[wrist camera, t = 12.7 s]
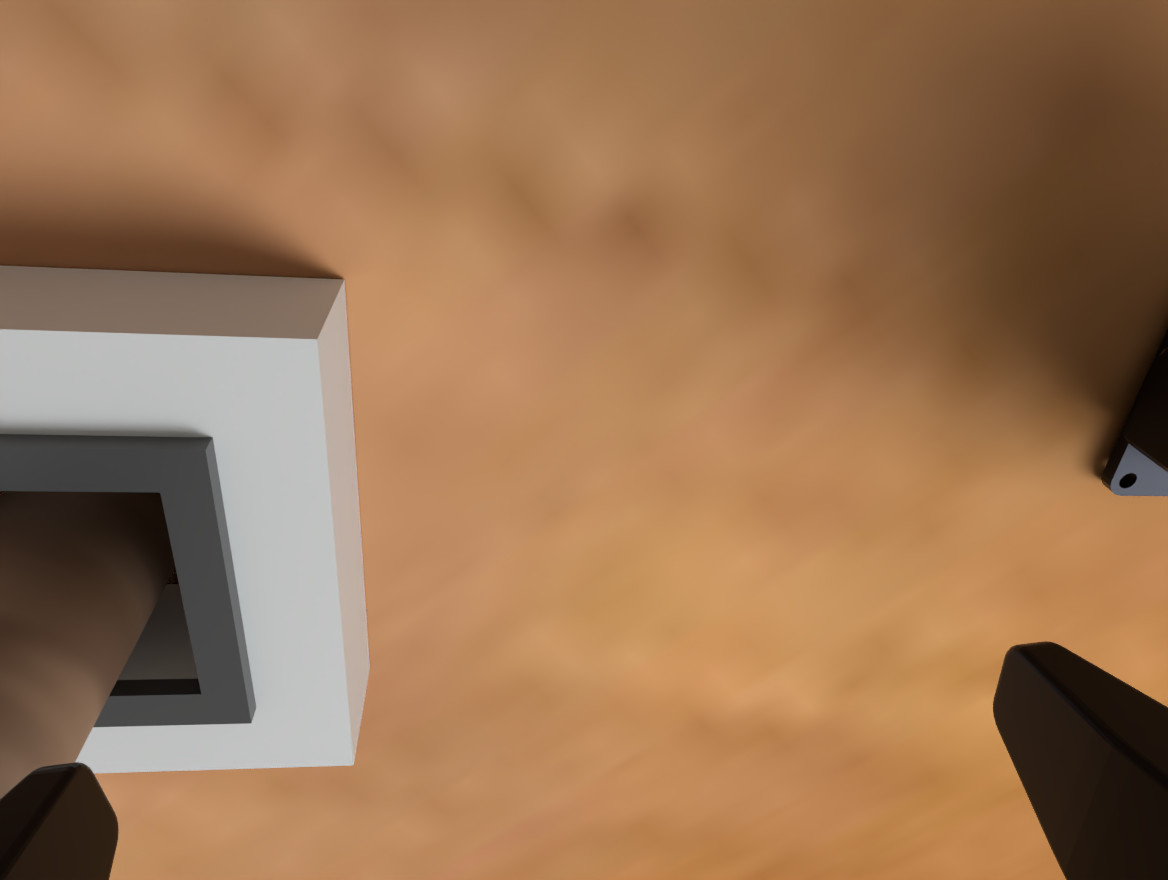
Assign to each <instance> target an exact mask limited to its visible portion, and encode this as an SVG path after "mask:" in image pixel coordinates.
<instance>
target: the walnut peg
mask: <svg viewBox="0 0 1168 880" xmlns="http://www.w3.org/2000/svg"><path fill="white" fill-rule="evenodd" d="M174 569H175V562H174V558H173V553H172V548H171V543H170V538H169V533H168V528H167V523H166V518H165V514H164V509H163V504H162V499H161V494H160V493H157V492H47V491H4V492H3V494H2V495H1V496H0V799H1V798H2V797H3V796H4V795H5V794H6V793H8V792H9V791H10V790H11V789H12V788H13V787H14V786H15V785H17V784H18V783H19V782H20V781H21V780H22V779H23V778H25V777H26V776H27V775H28V774H30V773H31V772H32V771H34V770H36V769H38V768H41V767H44V766H51V765H59V764H67V763H75V761H76V759H77V757H78V755H79V753H80V752H81V750H82V748H83V746H84V744H85V742H86V740H87V738H88V736H89V734H90V732H91V730H92V728H93V726H94V724H95V722H96V720H97V719H98V717H99V715H100V713H101V711H102V709H103V707H104V705H105V703H106V701H107V699H108V697H109V695H110V693H111V691H112V689H113V688H114V686H115V684H116V682H117V680H118V678H119V676H120V674H121V672H122V670H123V668H124V666H125V664H126V662H127V660H128V658H129V657H130V655H131V653H132V651H133V649H134V647H135V645H136V643H137V641H138V639H139V637H140V635H141V633H142V631H143V629H144V627H145V625H146V624H147V622H148V620H149V618H150V616H151V614H152V612H153V610H154V608H155V606H156V604H157V602H158V600H159V598H160V596H161V594H162V593H163V591H164V589H165V587H166V585H167V583H168V581H169V579H170V577H171V575H172V573H173V571H174Z"/></svg>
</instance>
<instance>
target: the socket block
mask: <svg viewBox="0 0 1168 880" xmlns="http://www.w3.org/2000/svg"><path fill="white" fill-rule="evenodd" d="M0 491H47V492H157V493H160V494H161V499H162V504H163V509H164V514H165V518H166V523H167V528H168V533H169V538H170V543H171V548H172V553H173V558H174V562H175V567H176V572H177V577H178V582H179V584H167V585H166V587H165V589H164V591H163V593H162V594H161V596H160V598H159V600H158V602H157V604H156V606H155V608H154V610H153V612H152V614H151V616H150V618H149V620H148V622H147V624H146V625H145V627H144V629H143V631H142V633H141V635H140V637H139V639H138V641H137V643H136V645H135V647H134V649H133V651H132V653H131V655H130V657H129V658H128V660H127V662H126V664H125V666H124V668H123V670H122V672H121V674H120V676H119V678H118V680H117V682H116V684H115V686H114V688H113V689H112V691H111V693H110V695H109V697H108V699H107V701H106V703H105V705H104V707H103V709H102V711H101V713H100V715H99V717H98V719H97V720H96V722H95V724H94V726H93V728H92V730H91V732H90V734H89V736H88V738H87V740H86V742H85V744H84V746H83V748H82V750H81V752H80V753H79V755H78V757H77V759H76V761H75V762H79V763H84V764H85V765H87V766H88V767H90V769H91V770H92V771H93V773H122V772H154V771H186V770H219V769H251V768H283V767H315V766H347V765H354V760H355V754H356V748H357V742H358V736H359V730H360V724H361V718H362V712H363V706H364V700H365V694H366V688H367V682H368V676H369V670H370V662H369V647H368V631H367V616H366V601H365V586H364V570H363V555H362V540H361V525H360V510H359V494H358V479H357V464H356V449H355V433H354V418H353V403H352V388H351V372H350V357H349V342H348V327H347V311H346V296H345V281H344V279H320V278H296V277H271V276H247V275H223V274H198V273H174V272H149V271H125V270H100V269H76V268H51V267H27V266H2V265H0Z"/></svg>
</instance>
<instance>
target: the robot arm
mask: <svg viewBox="0 0 1168 880" xmlns="http://www.w3.org/2000/svg"><path fill="white" fill-rule="evenodd" d="M1123 476H1125V477H1124V478H1122V477H1123ZM1121 478H1122V479H1121ZM1101 479H1102V483H1103V484H1104V485H1105V486H1106V487H1107V488H1108V489H1110V490H1111V491H1112V492H1113V493H1114V494H1116V495H1120V496H1168V329H1167V331H1166V334H1165V336H1164V338H1163V340H1162V342H1161V345H1160V347H1159V349H1158V351H1157V354H1156V356H1155V358H1154V360H1153V362H1152V365H1151V367H1150V369H1149V371H1148V374H1147V376H1146V378H1145V380H1144V382H1143V385H1142V387H1141V389H1140V391H1139V394H1138V396H1137V398H1136V400H1135V402H1134V405H1133V407H1132V409H1131V411H1130V414H1129V416H1128V418H1127V420H1126V422H1125V425H1124V427H1123V429H1122V431H1121V434H1120V436H1119V438H1118V440H1117V442H1116V445H1115V447H1114V449H1113V451H1112V454H1111V456H1110V458H1109V460H1108V462H1107V465H1106V467H1105V469H1104V471H1103V474H1102V478H1101ZM993 713H994V719H995V722H996V725H997V728H998V730H999V733H1000V735H1001V737H1002V739H1003V742H1004V744H1005V746H1006V748H1007V750H1008V753H1009V755H1010V757H1011V759H1012V762H1013V764H1014V766H1015V768H1016V771H1017V773H1018V775H1019V777H1020V780H1021V782H1022V784H1023V786H1024V789H1025V791H1026V793H1027V795H1028V797H1029V800H1030V802H1031V804H1032V806H1033V809H1034V811H1035V813H1036V815H1037V818H1038V820H1039V822H1040V824H1041V827H1042V829H1043V831H1044V833H1045V836H1046V838H1047V840H1048V842H1049V845H1050V847H1051V849H1052V851H1053V853H1054V855H1055V857H1056V859H1057V862H1058V864H1059V866H1060V868H1061V870H1062V872H1063V874H1064V876H1065V878H1066V880H1168V707H1166V706H1164V705H1163V704H1161V703H1159V702H1158V701H1156V700H1154V699H1152V698H1151V697H1149V696H1147V695H1145V694H1144V693H1142V692H1140V691H1139V690H1137V689H1135V688H1133V687H1132V686H1130V685H1128V684H1126V683H1125V682H1123V681H1121V680H1119V679H1118V678H1116V677H1114V676H1113V675H1111V674H1109V673H1107V672H1106V671H1104V670H1102V669H1100V668H1099V667H1097V666H1095V665H1094V664H1092V663H1090V662H1088V661H1087V660H1085V659H1083V658H1081V657H1080V656H1078V655H1076V654H1074V653H1073V652H1071V651H1069V650H1068V649H1066V648H1064V647H1062V646H1060V645H1058V644H1056V643H1053V642H1037V643H1029V644H1021V645H1015V646H1012V647H1011V648H1010V649H1009V650H1008V651H1007V653H1006V655H1005V658H1004V662H1003V666H1002V670H1001V674H1000V677H999V681H998V685H997V689H996V693H995V697H994V701H993ZM117 841H118V822H117V817H116V814H115V812H114V810H113V808H112V806H111V805H110V803H109V801H108V799H107V797H106V795H105V794H104V792H103V790H102V788H101V786H100V784H99V782H98V781H97V779H96V777H95V775H94V773H93V771H92V770H91V769H90V767H88V766H87V765H85V764H84V763H79V762H75V763H67V764H59V765H51V766H44V767H41V768H38V769H36V770H34V771H32V772H31V773H30V774H28V775H27V776H26V777H25V778H23V779H22V780H21V781H20V782H19V783H18V784H17V785H15V786H14V787H13V788H12V789H11V790H10V791H9V792H8V793H6V794H5V795H4V796H3V797H2V798H1V799H0V880H109V877H110V873H111V868H112V864H113V859H114V855H115V851H116V846H117Z"/></svg>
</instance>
